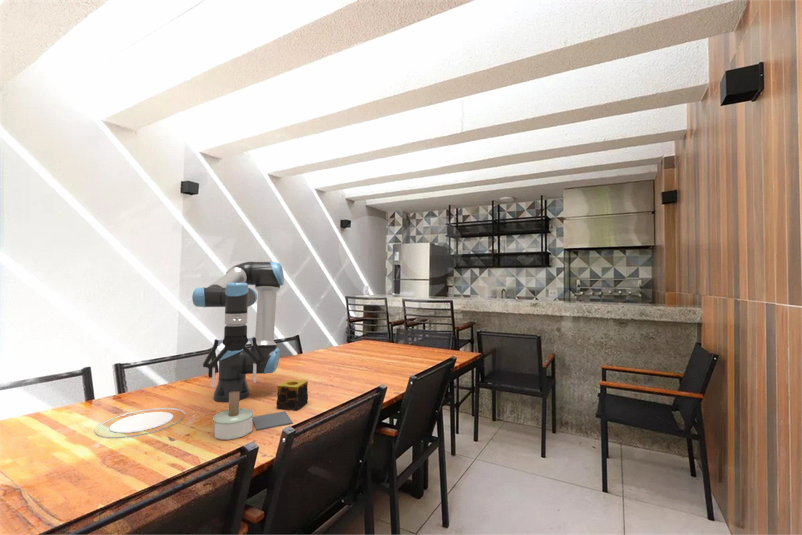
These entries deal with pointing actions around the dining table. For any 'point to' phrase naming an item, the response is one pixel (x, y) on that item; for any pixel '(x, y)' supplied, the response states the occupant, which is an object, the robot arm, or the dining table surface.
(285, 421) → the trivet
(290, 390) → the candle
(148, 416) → the plate
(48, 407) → the dining table surface
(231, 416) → the lid
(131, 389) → the dining table surface
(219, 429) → the bowl
